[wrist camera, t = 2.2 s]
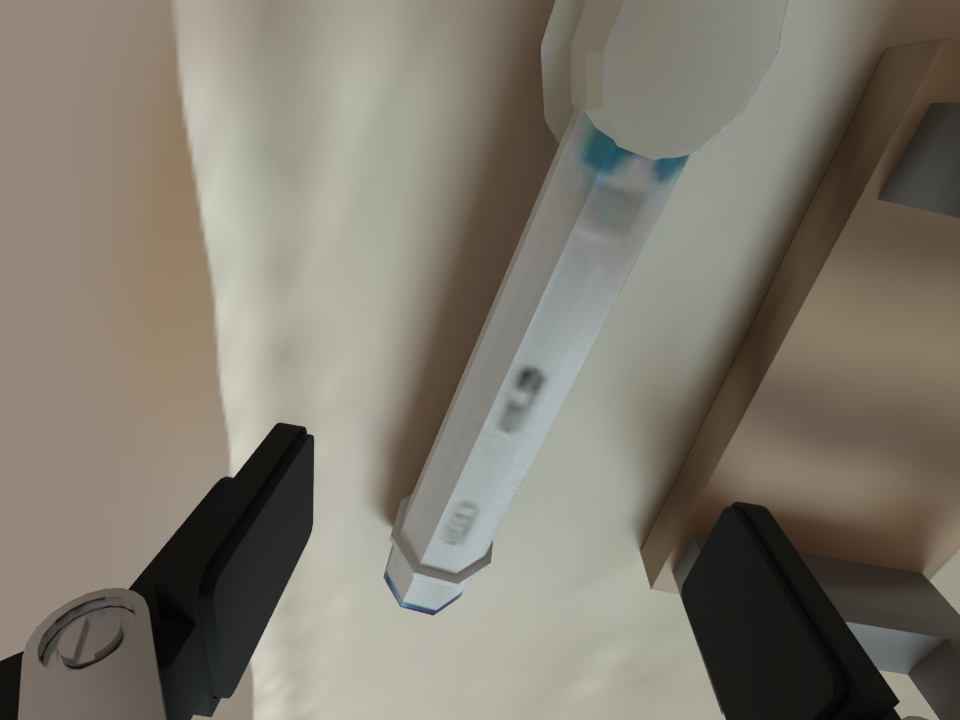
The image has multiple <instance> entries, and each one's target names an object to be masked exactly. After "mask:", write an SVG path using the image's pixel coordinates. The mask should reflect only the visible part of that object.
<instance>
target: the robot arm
mask: <svg viewBox="0 0 960 720" xmlns="http://www.w3.org/2000/svg"><path fill="white" fill-rule="evenodd" d="M313 485H314V437H313V435H310V434H307V430H306V428H305V427H303V426H297V425H291V424H285V423H277V424H276V425H275V426H274V428H273V429H272V430H271V431H270V433H269V434H268V435H267V436H266V438H265V439H264V440H263V441H262V443H261V444H260V445H259V447H258V448H257V449H256V450H255V452H254V453H253V454H252V455H251V457H250V458H249V459H248V460H247V462H246V463H245V464H244V466H243V467H242V468H241V469H240V471H239V472H238V473H237V474H236V476H235V477H234V478H232V477H224V478H222V479H220V480H219V481H218V482H217V483H216V484H215V485H214V486H213V488H212V489H211V490H210V491H209V493H208V494H207V495H206V496H205V498H204V499H203V500H202V501H201V502H200V504H199V505H198V506H197V507H196V508H195V509H194V511H193V512H192V513H191V514H190V516H189V517H188V518H187V519H186V520H185V522H184V523H183V524H182V525H181V527H180V528H179V529H178V530H177V531H176V532H175V534H174V535H173V536H172V537H171V538H170V540H169V541H168V542H167V543H166V545H165V546H164V547H163V548H162V549H161V551H160V552H159V553H158V554H157V555H156V557H155V558H154V559H153V560H152V561H151V563H150V564H149V565H148V566H147V568H146V569H145V570H144V571H143V572H142V574H141V575H140V576H139V577H138V578H137V580H136V581H135V582H134V583H133V584H132V586H131V587H130V588H129V589H128V590H127V589H123V588H112V589H103V590H99V591H95V592H91V593H87V594H85V595H83V596H81V597H78V598H76V599H74V600H72V601H69V602H68V603H66V604H65V605H63V606H62V607H60V608H59V609H57V610H56V611H54V612H53V613H51V614H50V615H49V616H48V617H47V618H46V619H45V620H44V621H43V622H42V623H41V624H40V625H39V626H38V627H37V628H36V629H35V631H34V632H33V634H32V635H31V637H30V638H29V640H28V641H27V643H26V646H25V650H24V651H23V652H20V653H18V654H16V655H13V656H11V657H9V658H7V659H4V660H2V661H0V720H191V718H192V716H193V715H201V716H207V717H212V715H213V713H214V711H215V709H216V707H217V705H218V703H219V701H220V699H221V698H230V697H231V696H232V694H233V693H234V691H235V689H236V688H237V685H238V683H239V681H240V679H241V677H242V675H243V673H244V671H245V669H246V667H247V665H248V663H249V661H250V659H251V657H252V655H253V653H254V651H255V649H256V647H257V644H258V642H259V640H260V638H261V636H262V634H263V632H264V630H265V628H266V626H267V624H268V622H269V620H270V618H271V616H272V614H273V612H274V610H275V608H276V606H277V603H278V601H279V599H280V597H281V595H282V593H283V591H284V589H285V587H286V585H287V583H288V581H289V579H290V577H291V575H292V573H293V571H294V569H295V567H296V564H297V562H298V560H299V558H300V556H301V554H302V552H303V550H304V548H305V546H306V544H307V542H308V540H309V537H310V534H311V531H312V526H313ZM681 595H682V601H683V604H684V607H685V610H686V612H687V615H688V618H689V620H690V623H691V626H692V628H693V631H694V634H695V637H696V639H697V642H698V645H699V647H700V650H701V653H702V656H703V658H704V661H705V664H706V666H707V669H708V672H709V674H710V677H711V680H712V683H713V685H714V688H715V691H716V693H717V696H718V699H719V702H720V704H721V707H722V710H723V712H724V715H725V718H726V720H928V719H925V718H922V717H917V716H907V717H905V718H903V719H901V718H900V717H899V715H898V714H897V712H896V711H895V709H894V707H895V706H896V705H897V704H898V703H899V702H900V701H899V700H898V698H897V697H896V696H895V694H894V693H893V691H892V690H891V688H890V687H889V685H888V684H887V682H886V681H885V679H884V678H883V677H882V675H881V674H880V672H879V671H878V669H877V668H876V666H875V665H874V663H873V662H872V660H871V659H870V658H869V656H868V655H867V653H866V652H865V650H864V649H863V647H862V646H861V644H860V643H859V641H858V640H857V639H856V637H855V636H854V634H853V633H852V631H851V630H850V628H849V627H848V625H847V624H846V622H845V621H844V620H843V618H842V617H841V615H840V614H839V612H838V611H837V609H836V608H835V606H834V605H833V604H832V602H831V601H830V599H829V598H828V596H827V595H826V593H825V592H824V590H823V589H822V587H821V586H820V585H819V583H818V582H817V580H816V579H815V577H814V576H813V574H812V573H811V571H810V570H809V568H808V567H807V566H806V564H805V563H804V561H803V560H802V558H801V557H800V555H799V554H798V552H797V551H796V549H795V548H794V547H793V545H792V544H791V542H790V541H789V539H788V538H787V536H786V535H785V533H784V532H783V530H782V529H781V528H780V526H779V525H778V523H777V522H776V520H775V519H774V517H773V516H772V514H771V513H770V511H769V510H768V509H767V508H766V507H764V506H762V505H756V504H750V503H744V502H735V503H733V504H732V505H731V506H730V507H726V508H724V510H723V511H722V513H721V515H720V517H719V519H718V520H717V522H716V524H715V526H714V528H713V530H712V532H711V533H710V535H709V537H708V539H707V541H706V543H705V544H704V546H703V548H702V550H701V552H700V554H699V555H698V557H697V559H696V561H695V563H694V565H693V566H692V568H691V570H690V572H689V574H688V576H687V578H686V579H685V581H684V583H683V586H682V591H681Z"/></svg>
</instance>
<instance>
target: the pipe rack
mask: <svg viewBox="0 0 960 720" xmlns="http://www.w3.org/2000/svg"><path fill="white" fill-rule="evenodd" d="M735 502H744V503H750V504H756V505H762V506H764V507H766V508H767V509H768V510H769V511H770V513H771V514H772V516H773V517H774V519H775V520H776V522H777V523H778V525H779V526H780V528H781V529H782V530H783V532H784V533H785V535H786V536H787V538H788V539H789V541H790V542H791V544H792V545H793V547H794V548H795V549H796V551H797V552H798V554H799V555H800V557H801V558H802V560H803V561H804V563H805V564H806V566H807V567H808V568H809V570H810V571H811V573H812V574H813V576H814V577H815V579H816V580H817V582H818V583H819V585H820V586H821V587H822V589H823V590H824V592H825V593H826V595H827V596H828V598H829V599H830V601H831V602H832V604H833V605H834V606H835V608H836V609H837V611H838V612H839V614H840V615H841V617H842V618H843V620H844V621H845V622H846V624H847V625H848V627H849V628H850V630H851V631H852V633H853V634H854V636H855V637H856V639H857V640H858V641H859V643H860V644H861V646H862V647H863V649H864V650H865V652H866V653H867V655H868V656H869V658H870V659H871V660H872V662H873V663H874V665H875V666H876V668H877V669H878V670H883V671H889V672H895V673H901V674H907V675H909V677H910V678H911V680H912V681H913V683H914V684H915V685H916V687H917V688H918V690H919V691H920V692H921V694H922V695H923V697H924V698H925V699H926V701H927V702H928V704H929V705H930V707H931V708H932V709H933V711H934V712H935V714H936V715H937V716H938V718H939V719H940V720H960V615H959V614H958V613H957V612H956V610H955V609H954V608H953V607H952V606H951V605H950V604H949V603H948V602H947V600H946V599H945V598H944V597H943V596H942V595H941V594H940V593H939V591H938V590H937V589H936V588H935V587H934V586H933V585H932V584H931V583H930V581H929V580H930V579H931V578H932V577H933V576H934V575H935V574H936V573H937V572H938V571H939V570H940V569H941V568H942V567H943V565H944V564H945V563H946V562H947V561H948V560H949V559H950V558H951V557H952V556H953V555H954V554H955V553H956V552H957V551H958V550H959V549H960V42H958V41H953V40H948V39H941V40H935V41H929V42H923V43H917V44H912V45H906V46H900V47H894V48H888V49H886V50H885V52H884V54H883V56H882V58H881V60H880V62H879V65H878V67H877V69H876V71H875V73H874V75H873V77H872V79H871V81H870V83H869V85H868V87H867V89H866V91H865V93H864V95H863V97H862V99H861V101H860V103H859V106H858V108H857V110H856V112H855V114H854V116H853V118H852V120H851V122H850V124H849V126H848V128H847V130H846V132H845V134H844V136H843V138H842V140H841V142H840V144H839V146H838V149H837V151H836V153H835V155H834V157H833V159H832V161H831V163H830V165H829V167H828V169H827V171H826V173H825V175H824V177H823V179H822V181H821V183H820V185H819V187H818V190H817V192H816V194H815V196H814V198H813V200H812V202H811V204H810V206H809V208H808V210H807V212H806V214H805V216H804V218H803V220H802V222H801V224H800V226H799V228H798V231H797V233H796V235H795V237H794V239H793V241H792V243H791V245H790V247H789V249H788V251H787V253H786V255H785V257H784V259H783V261H782V263H781V265H780V267H779V269H778V272H777V274H776V276H775V278H774V280H773V282H772V284H771V286H770V288H769V290H768V292H767V294H766V296H765V298H764V300H763V302H762V304H761V306H760V308H759V310H758V312H757V315H756V317H755V319H754V321H753V323H752V325H751V327H750V329H749V331H748V333H747V335H746V337H745V339H744V341H743V343H742V345H741V347H740V349H739V351H738V353H737V356H736V358H735V360H734V362H733V364H732V366H731V368H730V370H729V372H728V374H727V376H726V378H725V380H724V382H723V384H722V386H721V388H720V390H719V392H718V394H717V397H716V399H715V401H714V403H713V405H712V407H711V409H710V411H709V413H708V415H707V417H706V419H705V421H704V423H703V425H702V427H701V429H700V431H699V433H698V435H697V437H696V440H695V442H694V444H693V446H692V448H691V450H690V452H689V454H688V456H687V458H686V460H685V462H684V464H683V466H682V468H681V470H680V472H679V474H678V476H677V478H676V481H675V483H674V485H673V487H672V489H671V491H670V493H669V495H668V497H667V499H666V501H665V503H664V505H663V507H662V509H661V511H660V513H659V515H658V517H657V519H656V522H655V524H654V526H653V528H652V530H651V532H650V534H649V536H648V538H647V540H646V542H645V544H644V546H643V548H642V550H641V552H640V553H641V557H642V560H643V563H644V567H645V570H646V574H647V577H648V580H649V584H650V587H651V589H653V590H659V591H665V592H671V593H677V594H680V596H681V599H682V595H681V591H682V586H683V583H684V581H685V579H686V578H687V576H688V574H689V572H690V570H691V568H692V566H693V565H694V563H695V561H696V559H697V557H698V555H699V554H700V552H701V550H702V548H703V546H704V544H705V543H706V541H707V539H708V537H709V535H710V533H711V532H712V530H713V528H714V526H715V524H716V522H717V520H718V519H719V517H720V515H721V513H722V511H723V510H724V508H726V507H730V506H731V505H732V504H733V503H735ZM682 602H683V601H682ZM683 605H684V604H683ZM684 608H685V607H684ZM686 613H687V612H686ZM687 616H688V615H687ZM688 619H689V618H688ZM689 622H690V620H689ZM690 625H691V623H690ZM691 627H692V626H691ZM692 630H693V628H692ZM693 633H694V631H693ZM694 636H695V634H694ZM695 639H696V637H695ZM696 642H697V639H696ZM697 645H698V642H697ZM698 647H699V645H698ZM699 650H700V647H699ZM700 653H701V650H700ZM701 656H702V653H701ZM702 659H703V662H704V664H705V661H704V658H703V656H702ZM705 667H706V670H707V673H708V676H709V679H710V682H711V684H712V687H713V690H714V693H715V696H716V699H717V701H718V704H719V707H720V710H721V713H722V714H724V712H723V710H722V707H721V704H720V702H719V699H718V696H717V693H716V691H715V688H714V685H713V683H712V680H711V677H710V674H709V672H708V669H707V666H706V664H705Z"/></svg>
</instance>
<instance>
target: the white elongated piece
mask: <svg viewBox="0 0 960 720" xmlns="http://www.w3.org/2000/svg"><path fill="white" fill-rule="evenodd" d="M787 1H788V0H555V3H554V6H553V9H552V12H551V15H550V18H549V22H548V25H547V28H546V31H545V34H544V37H543V40H542V43H541V64H542V83H543V102H544V120H545V121H546V123H547V125H548V126H549V128H550V130H551V131H552V133H553V135H554V136H555V138H556V139H557V141H558V143H559V144H560V145H559V148H558V150H557V152H556V155H555V157H554V160H553V162H552V164H551V167H550V169H549V171H548V174H547V176H546V179H545V181H544V183H543V186H542V188H541V190H540V193H539V195H538V197H537V200H536V202H535V205H534V207H533V209H532V212H531V214H530V216H529V219H528V221H527V224H526V226H525V228H524V231H523V233H522V235H521V238H520V240H519V242H518V245H517V247H516V250H515V252H514V254H513V257H512V259H511V261H510V264H509V266H508V268H507V271H506V273H505V276H504V278H503V280H502V283H501V285H500V287H499V290H498V292H497V295H496V297H495V299H494V302H493V304H492V306H491V309H490V311H489V313H488V316H487V318H486V321H485V323H484V325H483V328H482V330H481V332H480V335H479V337H478V340H477V342H476V344H475V347H474V349H473V351H472V354H471V356H470V358H469V361H468V363H467V366H466V368H465V370H464V373H463V375H462V377H461V380H460V382H459V384H458V387H457V389H456V392H455V394H454V396H453V399H452V401H451V403H450V406H449V408H448V411H447V413H446V415H445V418H444V420H443V422H442V425H441V427H440V429H439V432H438V434H437V437H436V439H435V441H434V444H433V446H432V448H431V451H430V453H429V455H428V458H427V460H426V463H425V465H424V467H423V470H422V472H421V474H420V477H419V479H418V482H417V484H416V486H415V489H414V491H413V493H412V495H410V496H408V497H406V498H403V499H401V502H400V505H399V509H398V512H397V516H396V519H395V523H394V526H393V530H392V533H391V536H390V541H391V543H392V544H393V546H392V549H391V552H390V556H389V559H388V563H387V566H386V570H385V574H384V579H385V581H386V583H387V584H388V586H389V588H390V590H391V591H392V593H393V595H394V597H395V598H396V600H397V602H398V603H399V605H400V607H403V608H407V609H411V610H414V611H418V612H422V613H426V614H430V615H435V614H436V613H438V612H439V611H441V610H442V609H444V608H445V607H447V606H448V605H449V604H451V603H452V602H454V601H455V600H457V599H458V598H460V596H461V594H462V593H463V591H464V589H465V588H466V586H467V584H468V583H469V581H470V580H471V578H472V577H473V576H475V575H476V574H478V573H480V572H481V571H483V570H484V569H486V568H487V567H488V566H489V565H490V563H491V555H492V544H493V539H494V537H495V535H496V533H497V531H498V529H499V527H500V525H501V523H502V521H503V519H504V517H505V515H506V513H507V511H508V509H509V507H510V505H511V503H512V501H513V499H514V498H515V496H516V494H517V492H518V490H519V488H520V486H521V484H522V482H523V480H524V478H525V476H526V474H527V472H528V470H529V468H530V466H531V464H532V462H533V460H534V459H535V457H536V455H537V453H538V451H539V449H540V447H541V445H542V443H543V441H544V439H545V437H546V435H547V433H548V431H549V429H550V427H551V425H552V423H553V421H554V419H555V418H556V416H557V414H558V412H559V410H560V408H561V406H562V404H563V402H564V400H565V398H566V396H567V394H568V392H569V390H570V388H571V386H572V384H573V382H574V380H575V379H576V377H577V375H578V373H579V371H580V369H581V367H582V365H583V363H584V361H585V359H586V357H587V355H588V353H589V351H590V349H591V347H592V345H593V343H594V341H595V339H596V338H597V336H598V334H599V332H600V330H601V328H602V326H603V324H604V322H605V320H606V318H607V316H608V314H609V312H610V310H611V308H612V306H613V304H614V302H615V300H616V299H617V297H618V295H619V293H620V291H621V289H622V287H623V285H624V283H625V281H626V279H627V277H628V275H629V273H630V271H631V269H632V267H633V265H634V263H635V261H636V259H637V258H638V256H639V254H640V252H641V250H642V248H643V246H644V244H645V242H646V240H647V238H648V236H649V234H650V232H651V230H652V228H653V226H654V224H655V222H656V220H657V218H658V217H659V215H660V213H661V211H662V209H663V207H664V205H665V203H666V201H667V199H668V197H669V195H670V193H671V191H672V189H673V187H674V185H675V183H676V181H677V179H678V178H679V176H680V174H681V172H682V170H683V168H684V166H685V164H686V162H687V161H688V160H689V159H690V158H691V157H693V156H694V155H695V154H696V153H697V152H699V151H700V150H701V149H702V148H703V147H704V146H706V145H707V144H708V143H709V142H710V141H712V140H713V139H714V138H715V137H716V136H718V135H719V134H720V133H721V132H722V131H724V130H725V129H726V128H727V127H728V126H729V125H731V124H732V123H733V121H734V120H735V118H736V117H738V116H739V115H740V114H741V113H742V112H743V110H744V108H745V107H746V105H747V103H748V102H749V100H750V98H751V96H752V95H753V93H754V91H755V90H756V88H757V86H758V85H759V83H760V81H761V80H762V78H763V76H764V74H765V73H766V71H767V69H768V68H769V66H770V64H771V63H772V61H773V59H774V58H775V56H776V54H777V52H778V49H779V43H780V38H781V33H782V28H783V22H784V17H785V12H786V6H787Z"/></svg>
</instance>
